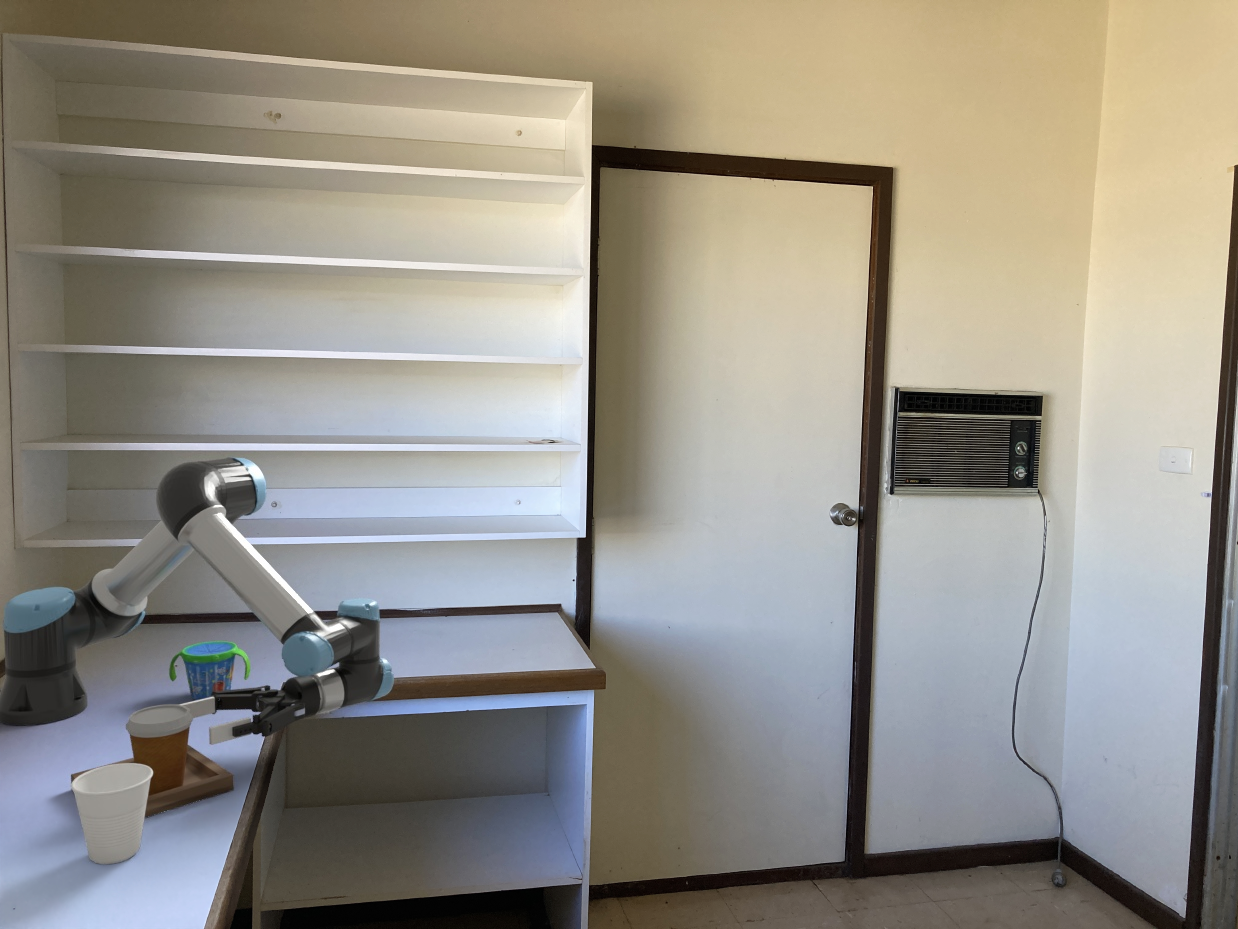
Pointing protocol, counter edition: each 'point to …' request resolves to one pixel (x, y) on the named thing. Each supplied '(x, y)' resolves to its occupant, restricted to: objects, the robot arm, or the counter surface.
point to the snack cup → (209, 667)
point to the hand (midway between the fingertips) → (191, 724)
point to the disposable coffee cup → (161, 743)
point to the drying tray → (187, 783)
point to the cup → (113, 809)
